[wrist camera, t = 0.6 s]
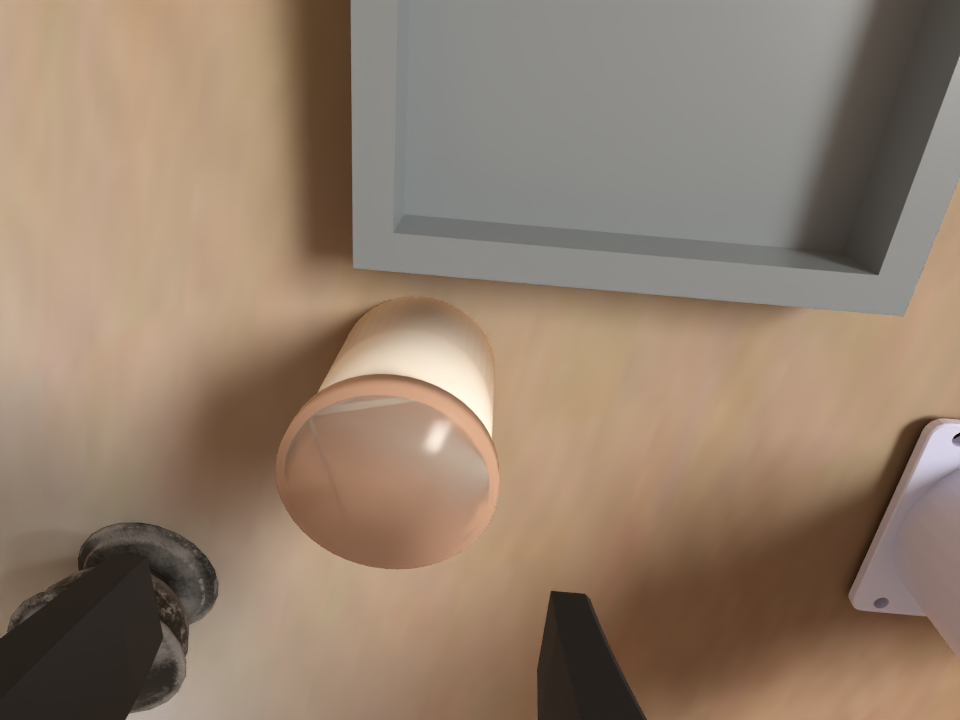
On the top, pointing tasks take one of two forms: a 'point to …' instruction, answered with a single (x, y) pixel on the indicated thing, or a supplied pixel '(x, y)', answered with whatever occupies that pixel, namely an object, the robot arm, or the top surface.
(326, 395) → the cup
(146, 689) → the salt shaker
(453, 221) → the tray
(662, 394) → the top surface
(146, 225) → the top surface
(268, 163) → the top surface
